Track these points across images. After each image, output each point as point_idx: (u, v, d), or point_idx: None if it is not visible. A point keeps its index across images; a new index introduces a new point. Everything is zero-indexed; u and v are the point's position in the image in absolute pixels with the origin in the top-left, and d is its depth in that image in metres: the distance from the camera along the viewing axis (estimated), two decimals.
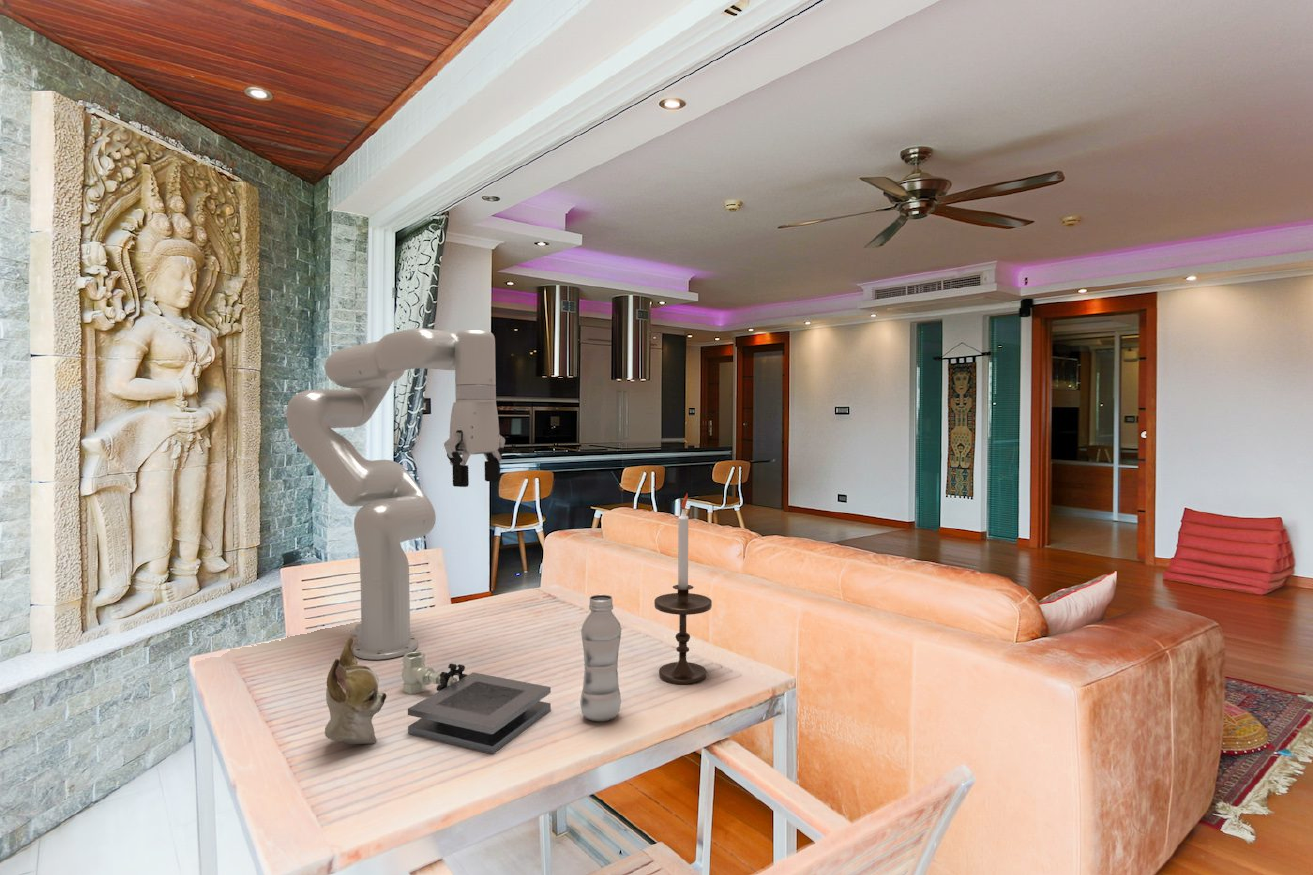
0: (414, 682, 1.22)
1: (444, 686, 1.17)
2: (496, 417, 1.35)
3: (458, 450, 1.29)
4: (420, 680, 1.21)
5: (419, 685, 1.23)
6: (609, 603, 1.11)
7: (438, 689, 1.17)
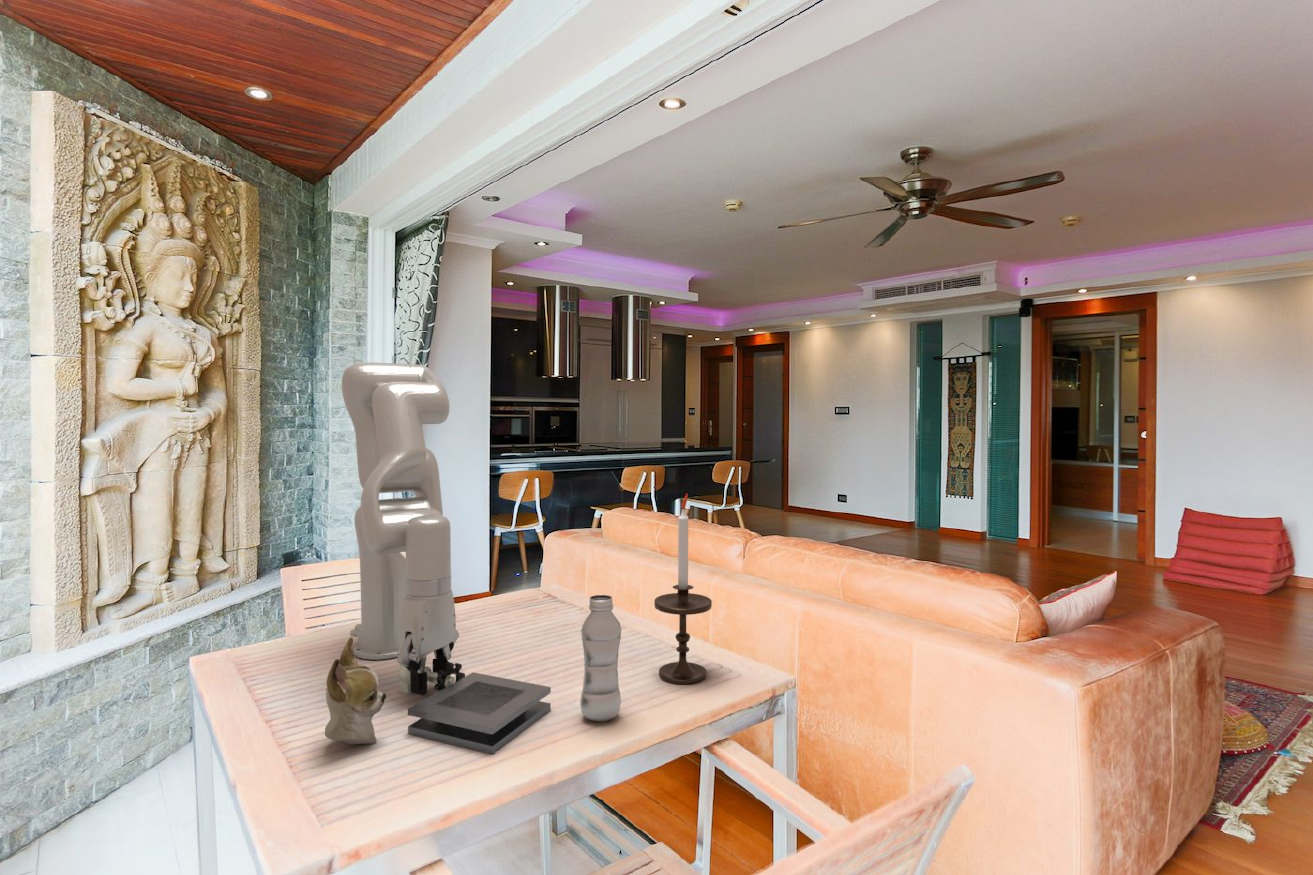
0: None
1: (441, 685, 1.18)
2: (452, 606, 1.24)
3: (412, 654, 1.19)
4: None
5: None
6: (609, 603, 1.11)
7: (436, 688, 1.17)
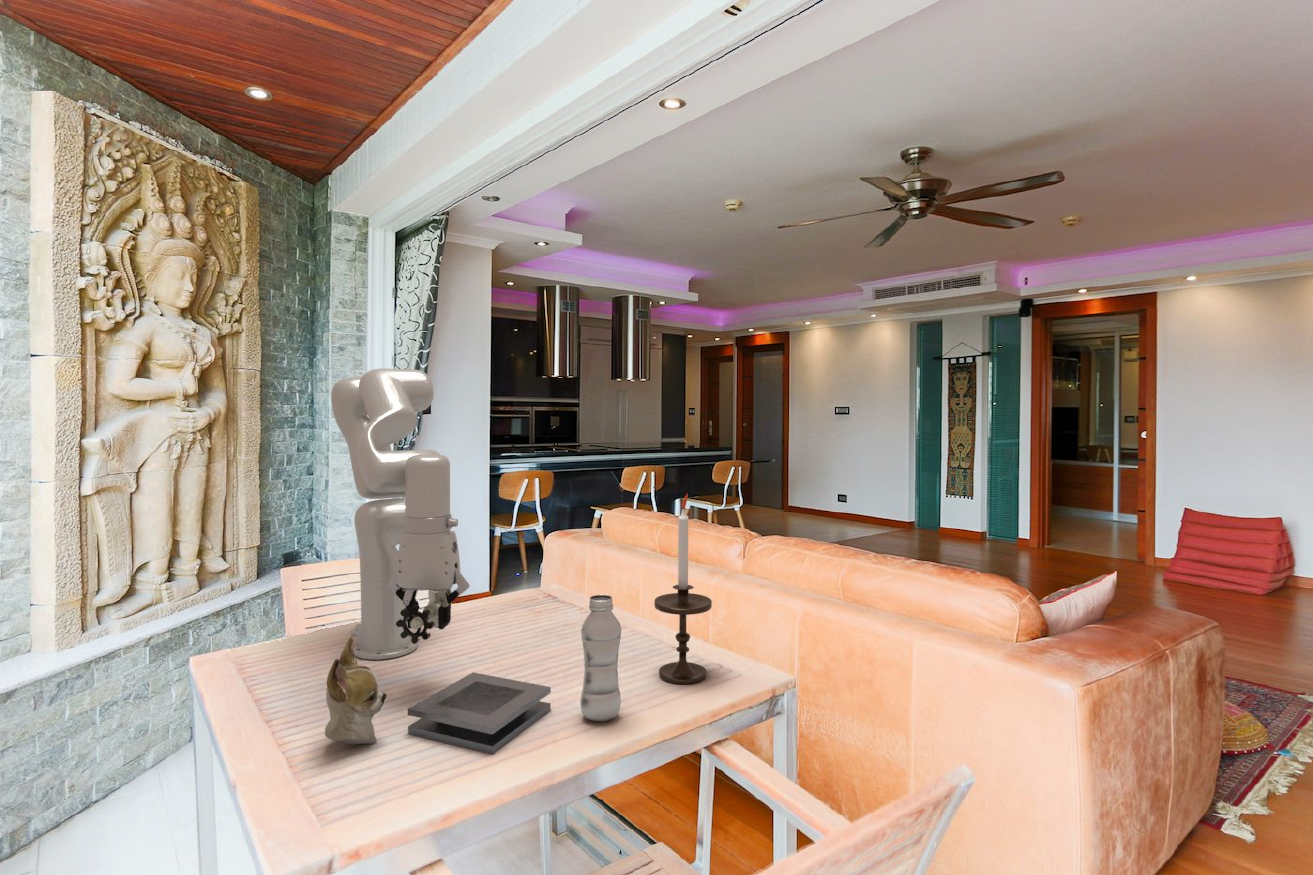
0: None
1: (401, 622, 1.17)
2: (442, 552, 1.19)
3: None
4: None
5: None
6: (609, 603, 1.11)
7: None
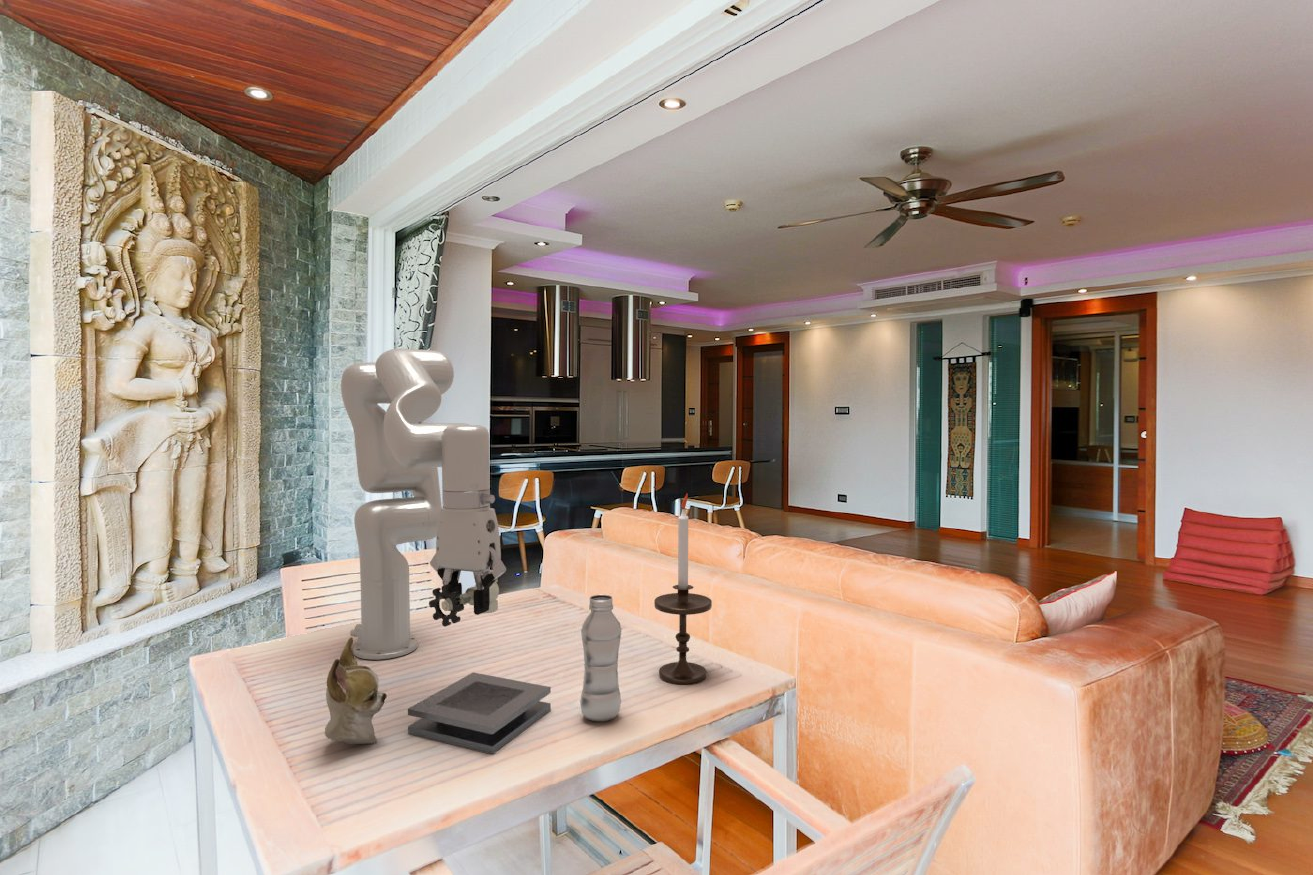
0: None
1: (433, 602, 1.10)
2: (475, 530, 1.09)
3: None
4: None
5: None
6: (609, 603, 1.11)
7: None
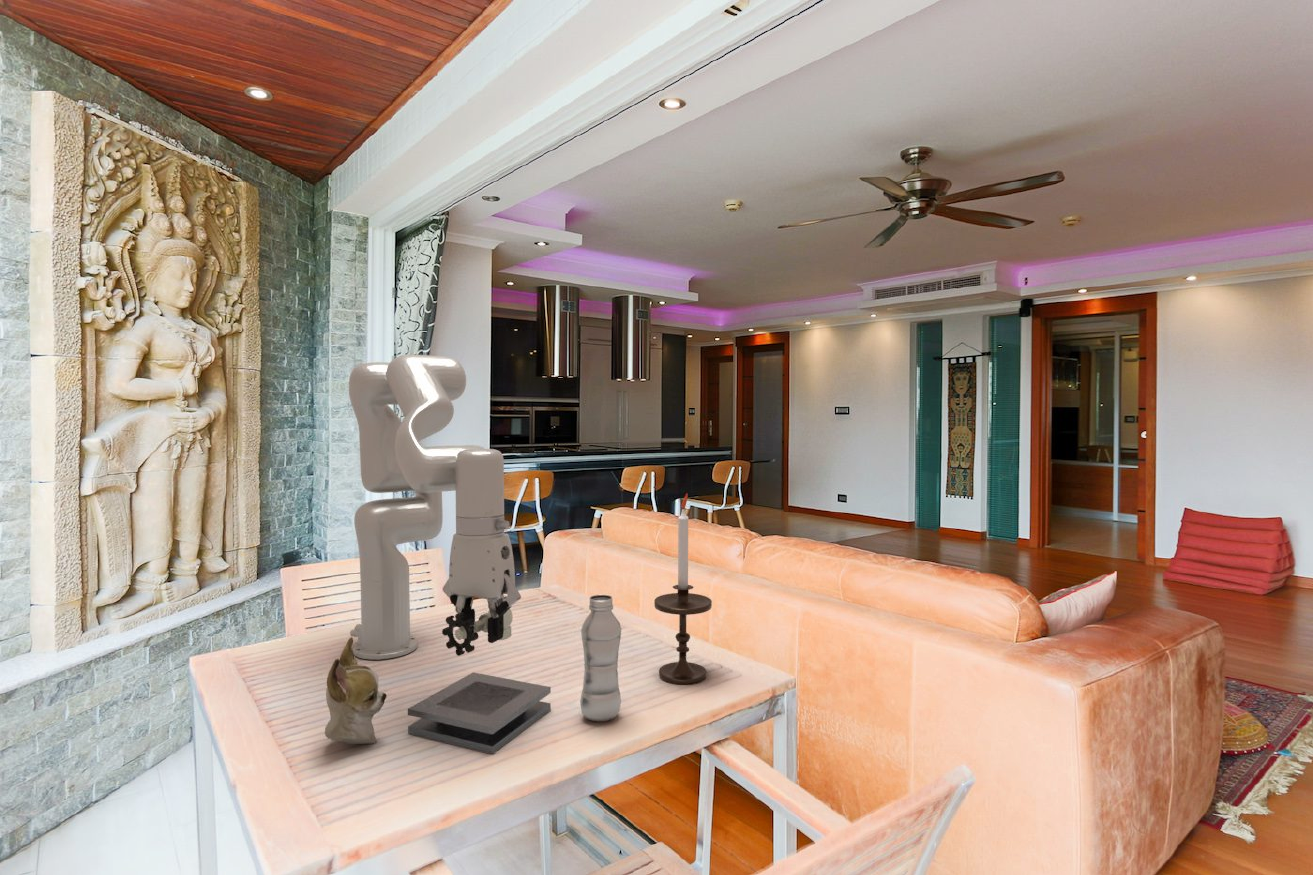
0: None
1: (446, 630, 1.08)
2: (489, 557, 1.07)
3: None
4: None
5: None
6: (609, 603, 1.11)
7: None
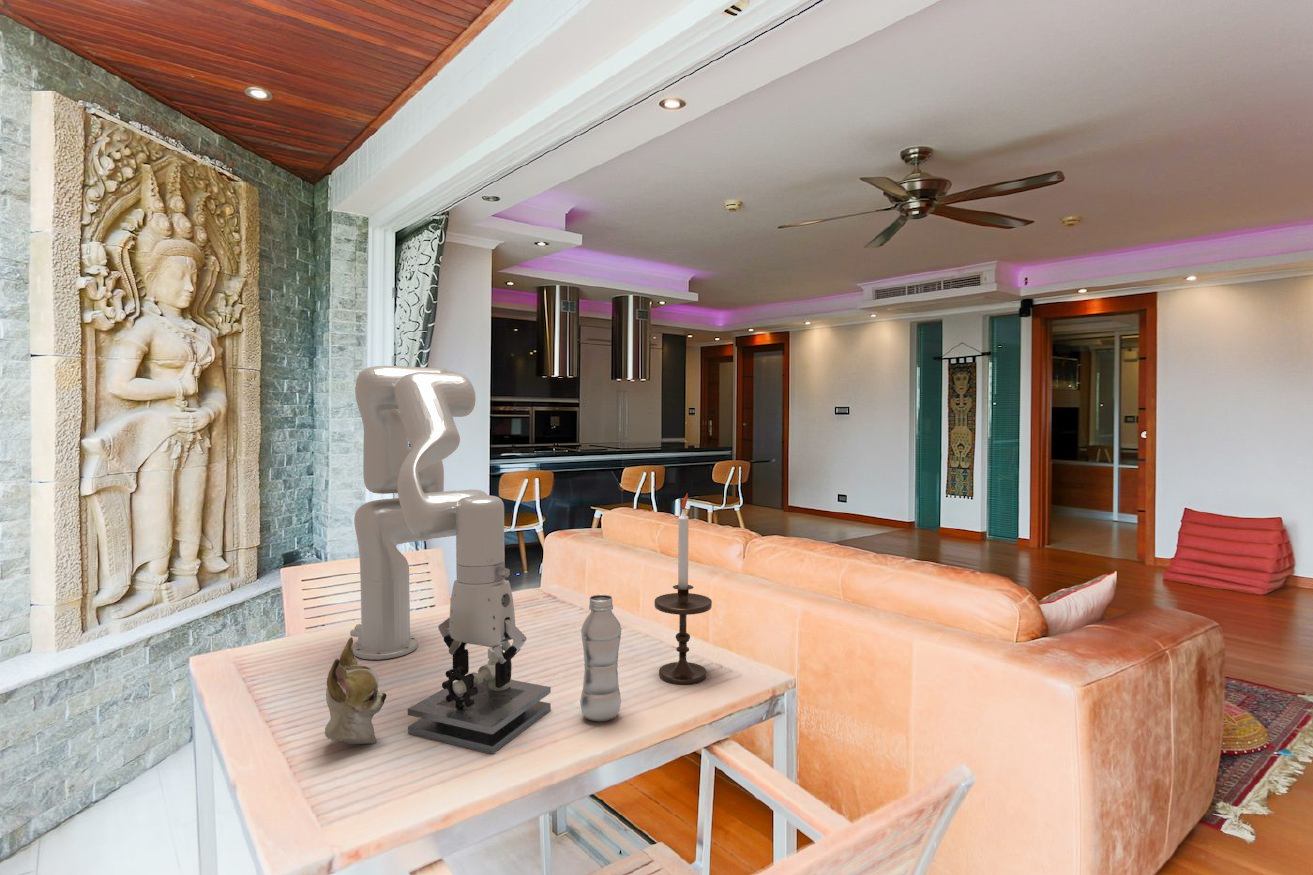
0: None
1: (446, 684, 1.08)
2: (490, 605, 1.07)
3: None
4: None
5: (491, 681, 1.14)
6: (609, 603, 1.11)
7: None
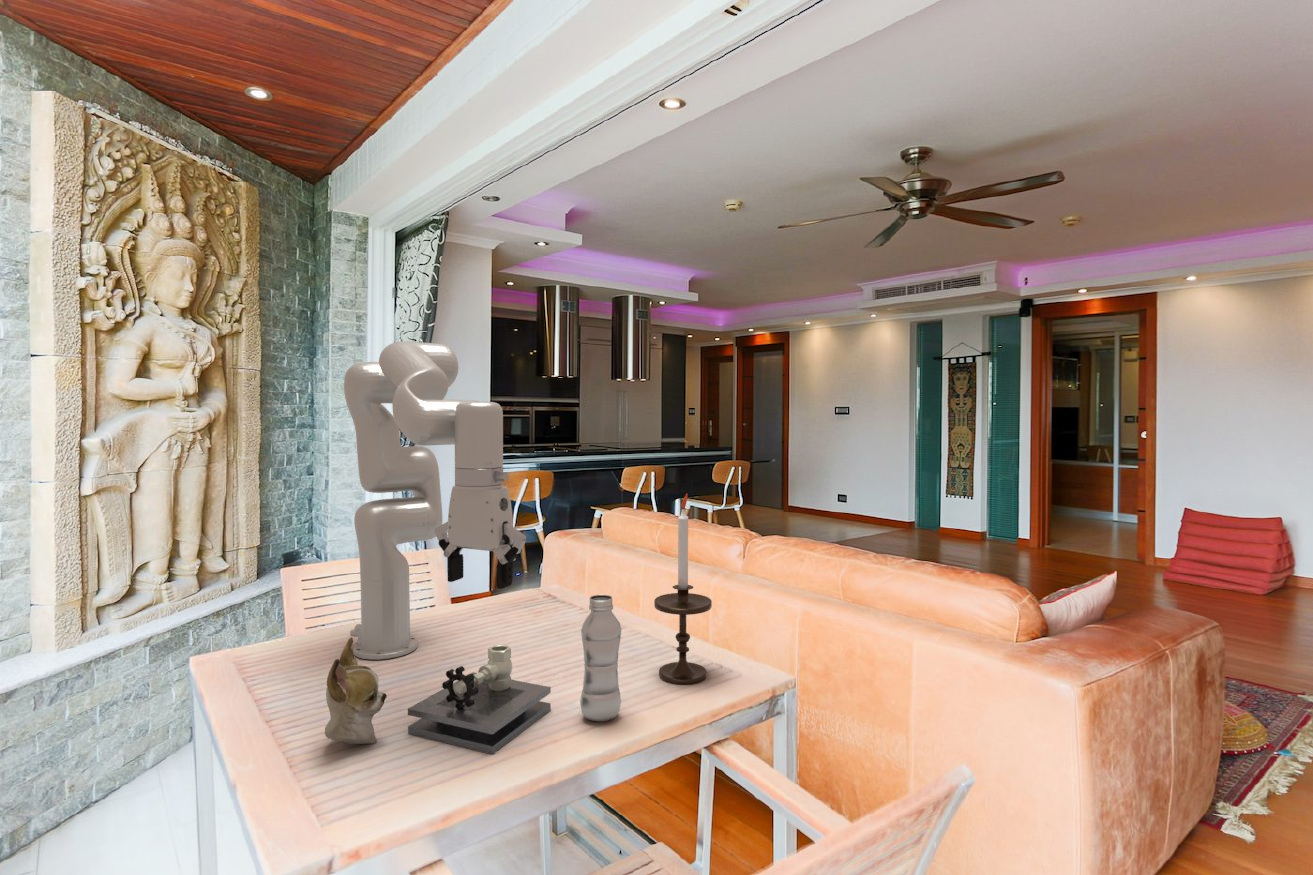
0: None
1: (446, 684, 1.08)
2: (488, 508, 1.08)
3: None
4: None
5: None
6: (609, 603, 1.11)
7: None
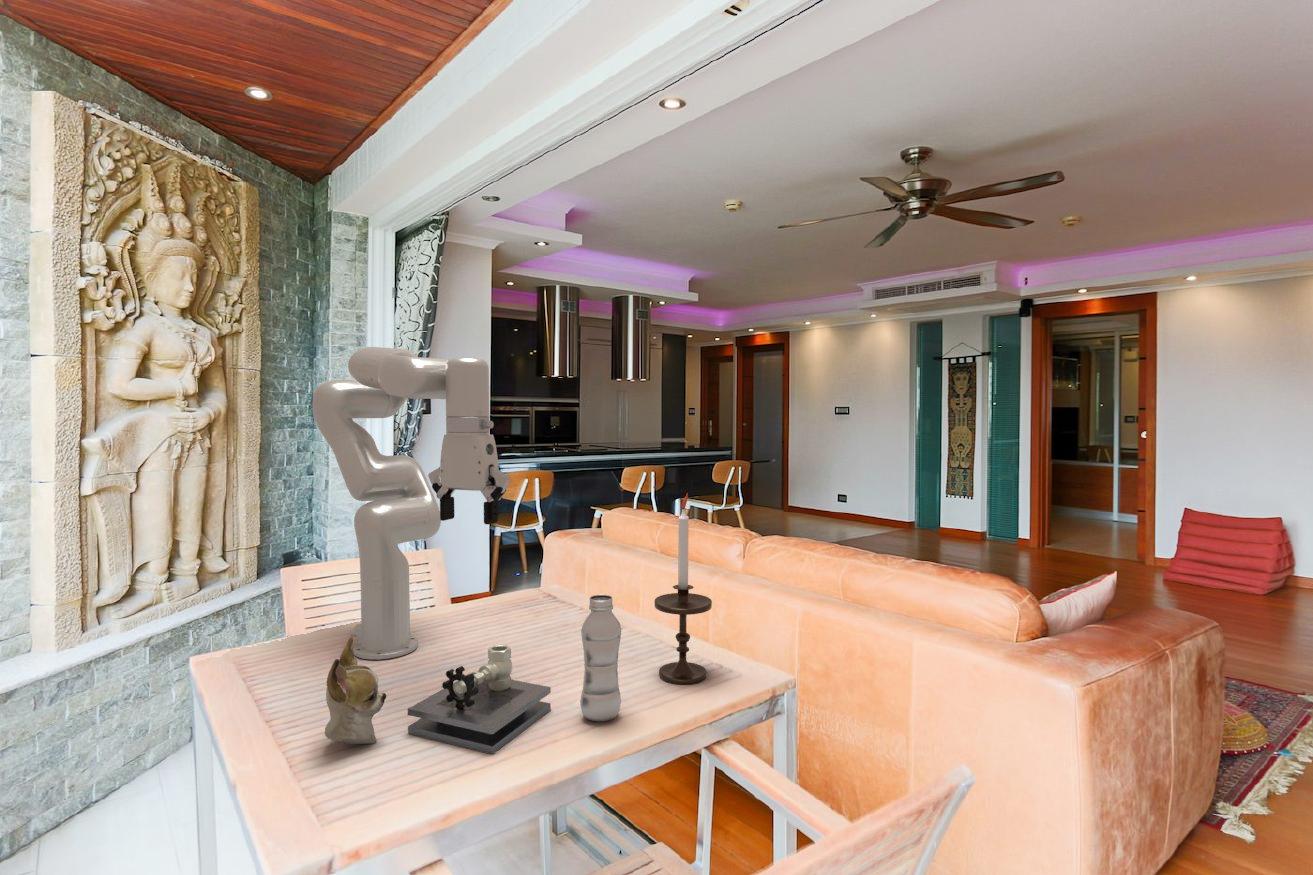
0: None
1: (446, 684, 1.08)
2: (476, 452, 1.21)
3: None
4: None
5: None
6: (609, 603, 1.11)
7: None
